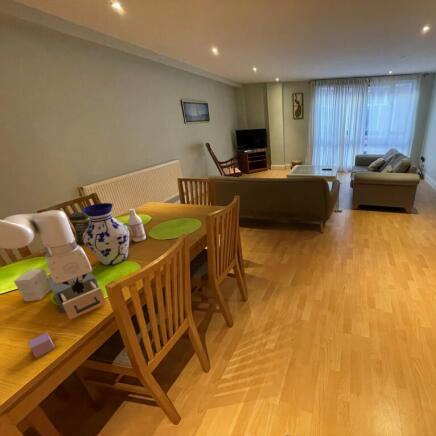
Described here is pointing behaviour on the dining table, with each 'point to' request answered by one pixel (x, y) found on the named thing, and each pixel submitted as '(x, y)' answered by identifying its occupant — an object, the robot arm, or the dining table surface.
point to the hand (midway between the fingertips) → (79, 291)
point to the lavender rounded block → (41, 345)
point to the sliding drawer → (82, 300)
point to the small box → (33, 284)
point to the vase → (106, 235)
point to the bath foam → (136, 227)
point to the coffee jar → (79, 224)
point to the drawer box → (68, 287)
